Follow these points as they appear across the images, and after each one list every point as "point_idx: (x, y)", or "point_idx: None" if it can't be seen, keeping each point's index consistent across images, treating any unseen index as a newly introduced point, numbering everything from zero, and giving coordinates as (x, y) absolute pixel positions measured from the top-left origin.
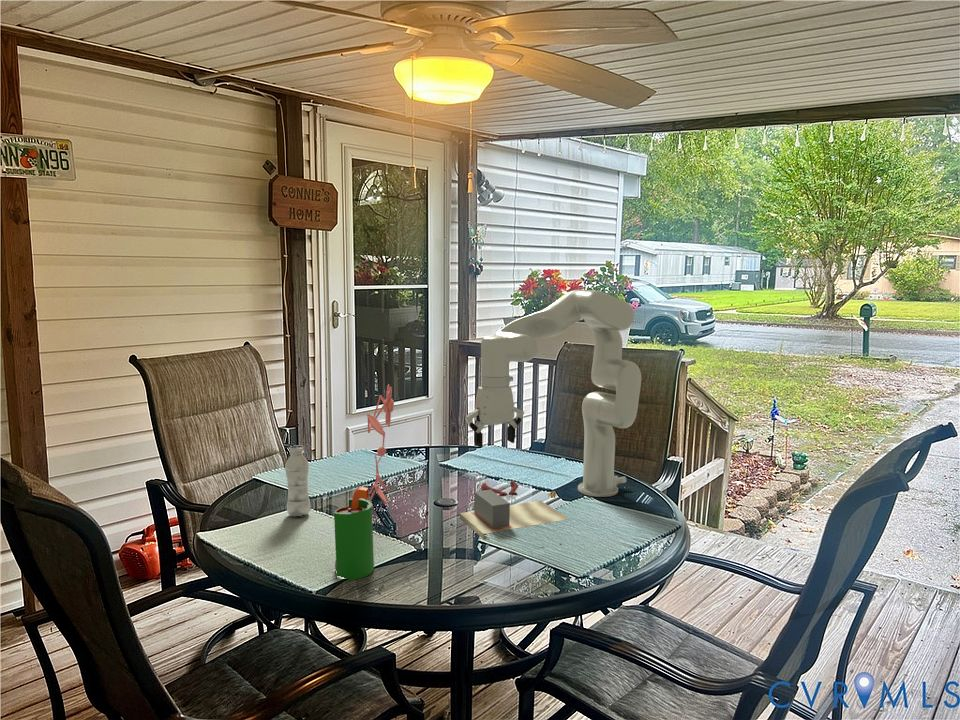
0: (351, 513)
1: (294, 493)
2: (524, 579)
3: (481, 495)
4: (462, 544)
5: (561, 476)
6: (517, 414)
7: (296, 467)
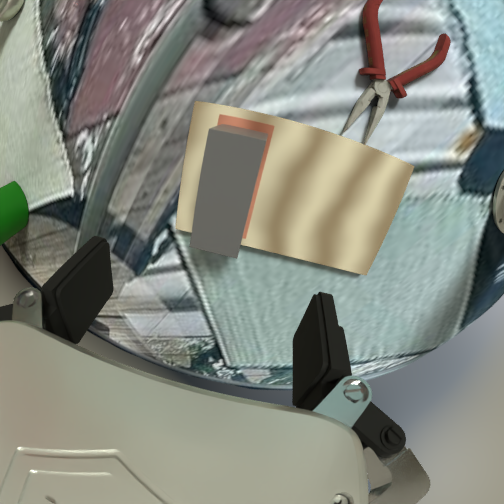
0: None
1: None
2: (167, 338)
3: (207, 168)
4: (137, 218)
5: None
6: (386, 477)
7: None
